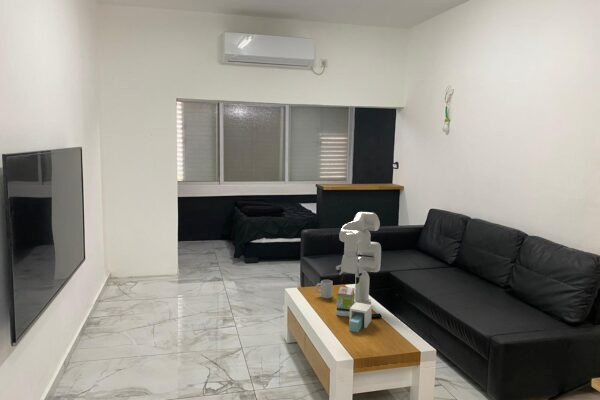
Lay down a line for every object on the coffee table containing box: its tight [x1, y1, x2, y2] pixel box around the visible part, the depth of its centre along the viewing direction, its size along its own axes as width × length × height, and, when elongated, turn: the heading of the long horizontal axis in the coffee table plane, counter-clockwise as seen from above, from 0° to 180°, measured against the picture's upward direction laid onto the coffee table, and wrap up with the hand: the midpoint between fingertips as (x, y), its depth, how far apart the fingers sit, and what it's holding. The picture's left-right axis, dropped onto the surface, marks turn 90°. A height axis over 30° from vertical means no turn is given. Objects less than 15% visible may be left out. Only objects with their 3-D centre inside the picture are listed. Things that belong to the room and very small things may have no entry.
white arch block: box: [348, 302, 373, 329], centre depth 281 cm, size 12×10×10 cm
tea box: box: [335, 286, 355, 317], centre depth 299 cm, size 15×10×15 cm
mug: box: [315, 279, 334, 299], centre depth 328 cm, size 12×8×11 cm
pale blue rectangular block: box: [349, 314, 364, 333], centre depth 275 cm, size 12×5×6 cm, turn 157°
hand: (349, 282), depth 271 cm, fingers open, 9 cm apart
